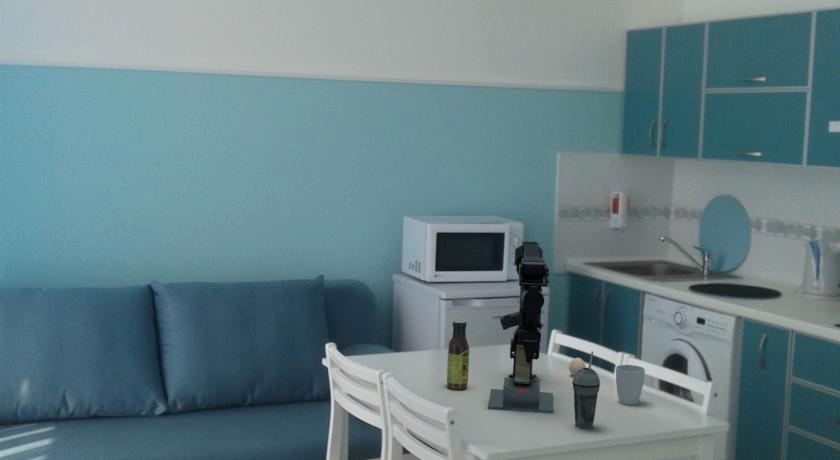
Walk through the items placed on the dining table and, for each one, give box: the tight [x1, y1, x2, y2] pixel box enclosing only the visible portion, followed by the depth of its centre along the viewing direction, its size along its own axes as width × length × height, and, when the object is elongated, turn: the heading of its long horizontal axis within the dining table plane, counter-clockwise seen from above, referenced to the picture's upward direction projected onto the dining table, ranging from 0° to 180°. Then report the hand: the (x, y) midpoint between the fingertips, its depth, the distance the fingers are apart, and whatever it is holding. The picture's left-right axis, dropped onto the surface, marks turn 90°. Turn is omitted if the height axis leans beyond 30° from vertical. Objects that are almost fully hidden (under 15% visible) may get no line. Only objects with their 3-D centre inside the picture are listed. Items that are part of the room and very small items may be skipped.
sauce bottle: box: [446, 319, 470, 391], centre depth 296 cm, size 6×6×20 cm
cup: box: [615, 364, 646, 406], centre depth 286 cm, size 8×8×10 cm
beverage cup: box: [572, 351, 601, 430], centre depth 262 cm, size 7×7×20 cm
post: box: [515, 345, 530, 384], centre depth 283 cm, size 4×4×10 cm
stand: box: [487, 377, 555, 414], centre depth 284 cm, size 18×18×6 cm
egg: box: [568, 357, 587, 376], centre depth 314 cm, size 5×5×6 cm
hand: (528, 359), depth 282 cm, fingers open, 9 cm apart
